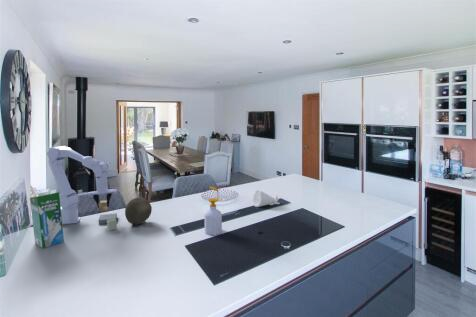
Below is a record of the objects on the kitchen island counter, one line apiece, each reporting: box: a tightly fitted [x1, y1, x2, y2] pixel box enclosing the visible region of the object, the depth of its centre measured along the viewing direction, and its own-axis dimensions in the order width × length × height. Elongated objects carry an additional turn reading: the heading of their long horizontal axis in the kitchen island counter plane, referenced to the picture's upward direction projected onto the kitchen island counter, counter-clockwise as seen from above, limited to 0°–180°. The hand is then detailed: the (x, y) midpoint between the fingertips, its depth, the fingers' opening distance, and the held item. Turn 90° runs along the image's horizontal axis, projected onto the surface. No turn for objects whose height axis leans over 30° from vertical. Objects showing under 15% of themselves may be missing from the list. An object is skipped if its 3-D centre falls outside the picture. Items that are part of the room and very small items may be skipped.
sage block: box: [106, 218, 118, 231], centre depth 148 cm, size 4×4×5 cm
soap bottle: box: [203, 185, 223, 236], centre depth 143 cm, size 9×9×25 cm
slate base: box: [97, 212, 118, 225], centre depth 159 cm, size 9×9×2 cm
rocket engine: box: [252, 189, 281, 208], centre depth 190 cm, size 12×12×18 cm
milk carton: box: [29, 191, 65, 249], centre depth 130 cm, size 9×9×25 cm
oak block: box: [98, 199, 109, 212], centre depth 155 cm, size 4×4×5 cm
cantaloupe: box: [124, 197, 153, 226], centre depth 154 cm, size 14×14×15 cm
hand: (103, 206), depth 155 cm, fingers closed on oak block, 4 cm apart
